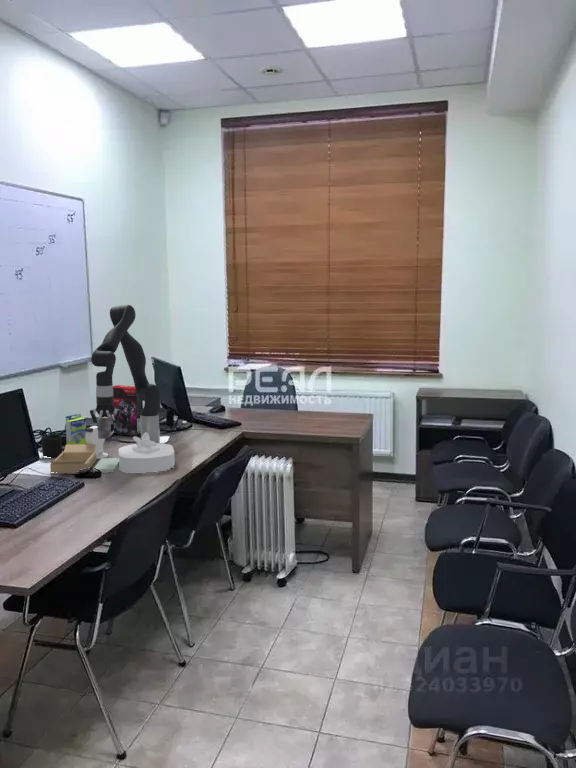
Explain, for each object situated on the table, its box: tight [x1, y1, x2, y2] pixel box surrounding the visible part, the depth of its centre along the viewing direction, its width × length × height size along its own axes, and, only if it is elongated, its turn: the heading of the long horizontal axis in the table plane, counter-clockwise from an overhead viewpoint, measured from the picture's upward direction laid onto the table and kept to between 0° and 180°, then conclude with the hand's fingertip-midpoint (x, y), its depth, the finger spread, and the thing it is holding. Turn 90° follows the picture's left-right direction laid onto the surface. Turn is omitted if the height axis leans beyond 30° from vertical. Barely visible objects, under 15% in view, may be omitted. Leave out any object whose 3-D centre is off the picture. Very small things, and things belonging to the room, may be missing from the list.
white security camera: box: [85, 424, 109, 460], centre depth 307 cm, size 12×11×15 cm
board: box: [94, 457, 119, 474], centre depth 290 cm, size 9×18×2 cm, turn 5°
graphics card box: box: [112, 384, 144, 437], centre depth 350 cm, size 17×7×27 cm, turn 68°
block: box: [97, 415, 114, 440], centre depth 288 cm, size 4×13×8 cm, turn 5°
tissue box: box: [118, 432, 176, 474], centre depth 292 cm, size 25×25×16 cm
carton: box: [48, 444, 97, 474], centre depth 288 cm, size 16×28×7 cm, turn 5°
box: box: [64, 412, 87, 445], centre depth 320 cm, size 10×4×17 cm, turn 151°
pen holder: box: [40, 433, 63, 459], centre depth 306 cm, size 9×9×10 cm
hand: (106, 431), depth 288 cm, fingers closed on block, 4 cm apart
